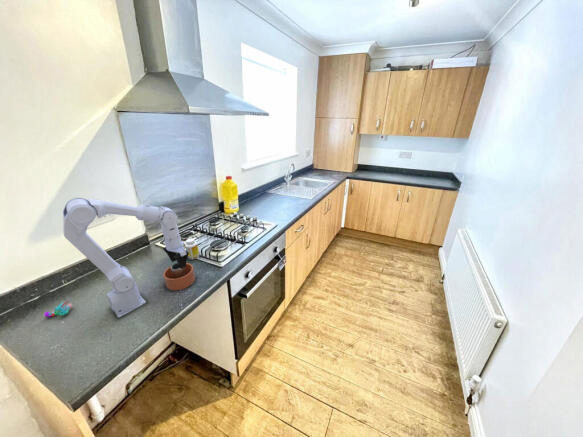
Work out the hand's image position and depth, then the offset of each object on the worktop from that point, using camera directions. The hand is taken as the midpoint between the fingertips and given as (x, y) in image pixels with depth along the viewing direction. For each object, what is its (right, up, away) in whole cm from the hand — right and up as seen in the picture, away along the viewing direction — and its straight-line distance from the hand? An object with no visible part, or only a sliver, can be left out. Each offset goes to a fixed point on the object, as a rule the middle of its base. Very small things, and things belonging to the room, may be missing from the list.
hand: (178, 264), depth 100 cm
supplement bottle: (-2, -1, +21) cm, 21 cm away
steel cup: (0, -8, +3) cm, 8 cm away
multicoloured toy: (+13, -12, -7) cm, 19 cm away
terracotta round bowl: (0, -8, +3) cm, 9 cm away
